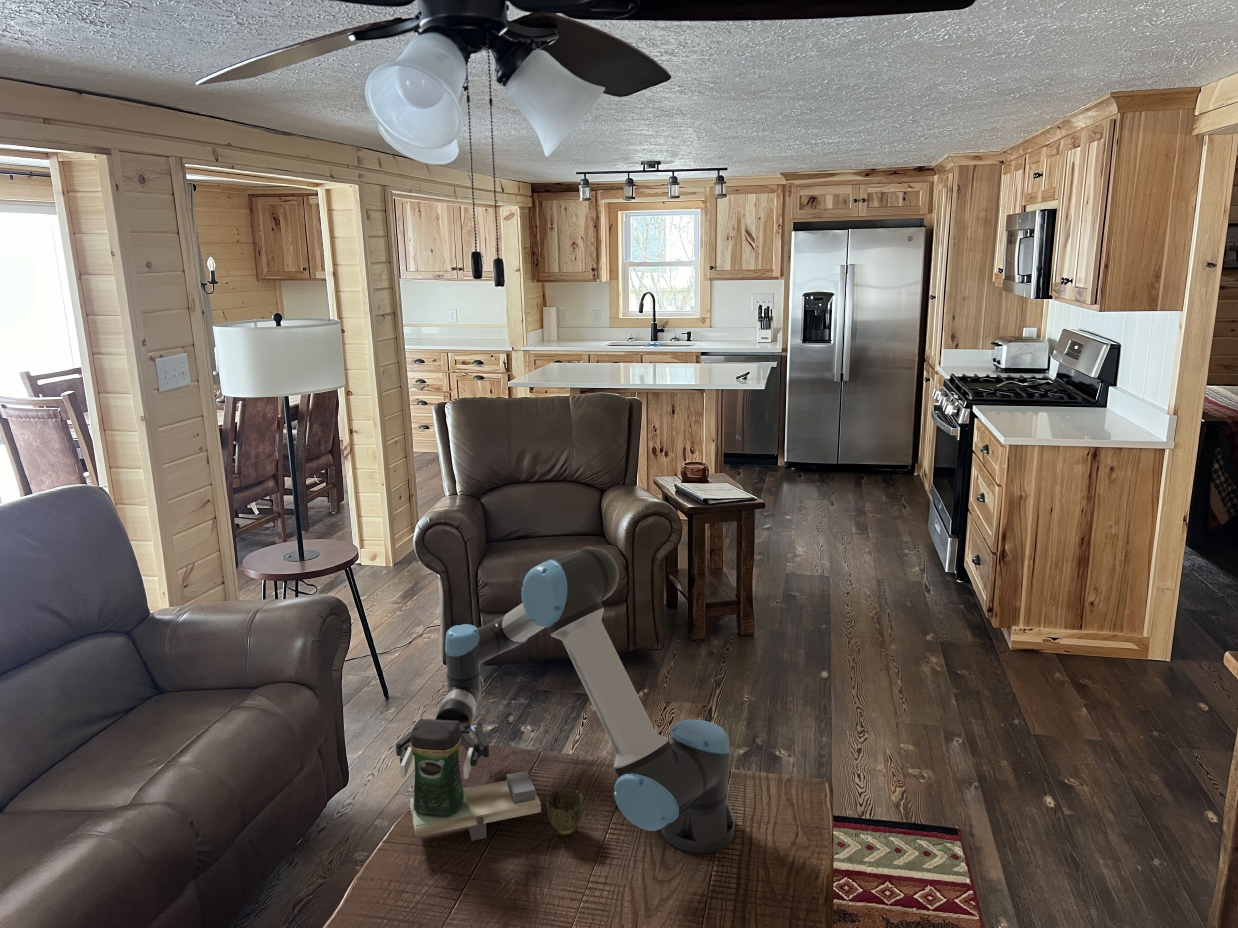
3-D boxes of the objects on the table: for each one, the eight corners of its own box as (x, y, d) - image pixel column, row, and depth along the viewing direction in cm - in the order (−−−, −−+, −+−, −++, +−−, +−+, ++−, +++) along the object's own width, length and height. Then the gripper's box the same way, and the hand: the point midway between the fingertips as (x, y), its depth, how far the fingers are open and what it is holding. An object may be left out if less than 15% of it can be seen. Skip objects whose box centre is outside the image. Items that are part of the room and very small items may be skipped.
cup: (578, 846, 172) (577, 811, 170) (542, 841, 173) (541, 806, 171) (586, 823, 179) (586, 789, 177) (552, 818, 180) (552, 784, 178)
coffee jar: (468, 796, 176) (465, 714, 172) (455, 821, 169) (453, 735, 164) (422, 792, 178) (419, 710, 173) (408, 816, 170) (404, 731, 166)
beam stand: (486, 837, 174) (486, 820, 173) (471, 840, 173) (471, 823, 172) (480, 816, 181) (479, 800, 180) (465, 819, 180) (465, 802, 179)
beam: (541, 813, 175) (541, 794, 174) (416, 838, 167) (415, 818, 166) (528, 783, 185) (528, 764, 184) (409, 805, 177) (409, 786, 176)
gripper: (510, 730, 189) (495, 789, 168) (402, 729, 189) (373, 788, 168) (510, 699, 187) (494, 755, 166) (400, 698, 187) (371, 753, 166)
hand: (434, 771), depth 167 cm, fingers open, 11 cm apart
